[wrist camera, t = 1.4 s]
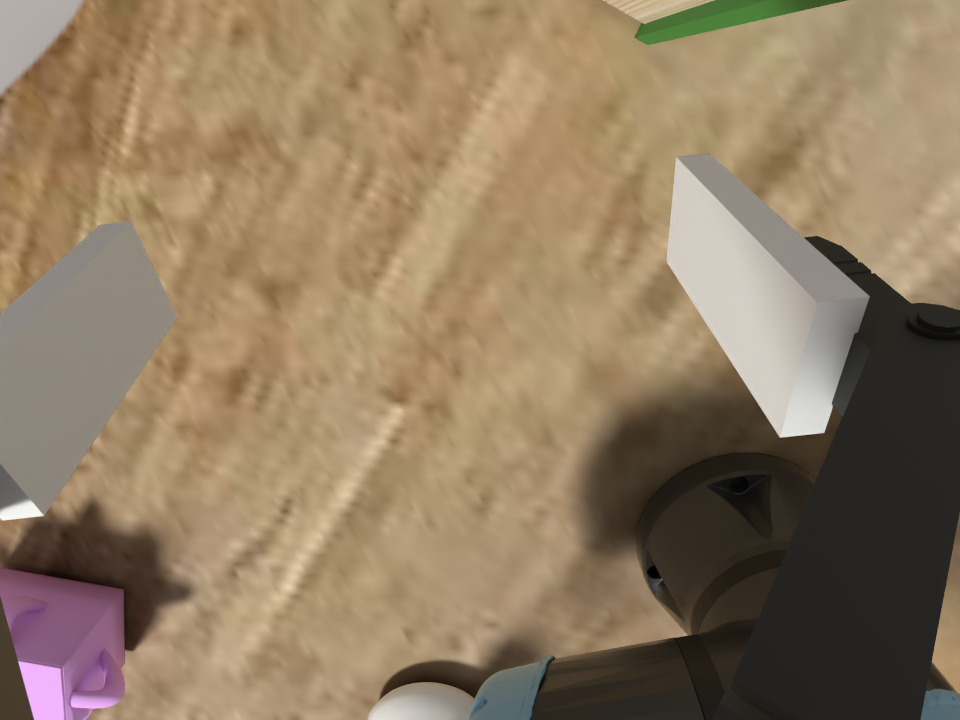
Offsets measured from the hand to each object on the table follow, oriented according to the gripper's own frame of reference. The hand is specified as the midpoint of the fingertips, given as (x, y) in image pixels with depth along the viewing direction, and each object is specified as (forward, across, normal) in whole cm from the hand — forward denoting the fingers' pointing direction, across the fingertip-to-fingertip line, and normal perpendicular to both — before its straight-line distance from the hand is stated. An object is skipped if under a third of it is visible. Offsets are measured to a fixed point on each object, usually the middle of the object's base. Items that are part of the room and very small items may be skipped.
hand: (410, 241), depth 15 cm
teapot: (+17, +38, +38) cm, 56 cm away
